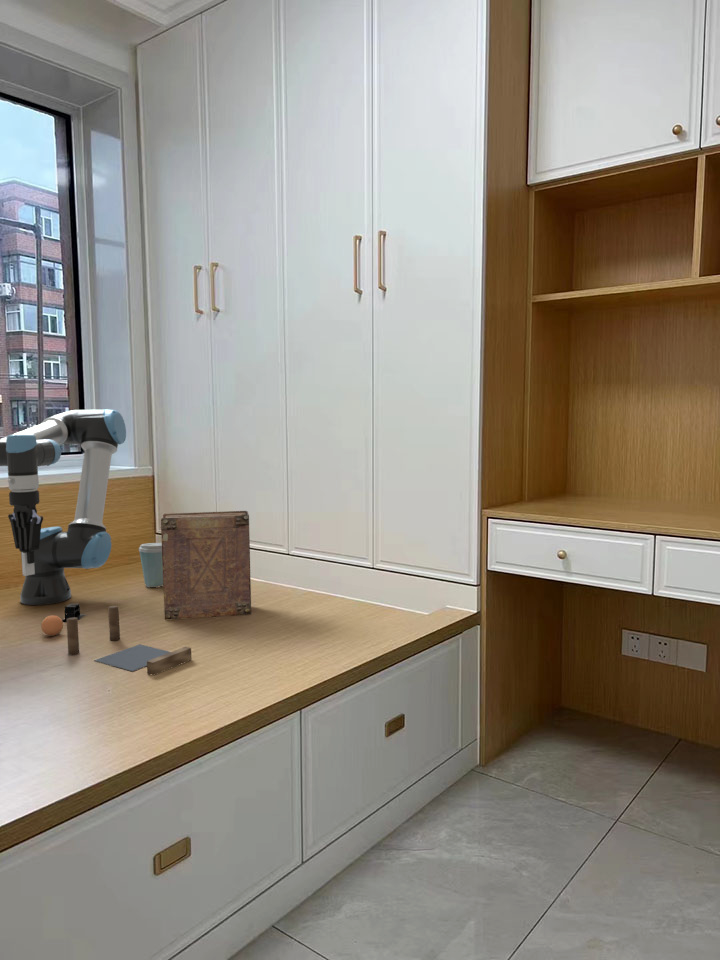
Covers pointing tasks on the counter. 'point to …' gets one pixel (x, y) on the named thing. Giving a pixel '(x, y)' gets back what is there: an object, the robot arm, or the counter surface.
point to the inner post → (114, 623)
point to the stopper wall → (168, 660)
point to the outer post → (72, 636)
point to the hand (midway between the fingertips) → (28, 574)
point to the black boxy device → (72, 612)
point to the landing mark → (132, 657)
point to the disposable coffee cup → (152, 564)
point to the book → (206, 564)
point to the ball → (52, 625)
